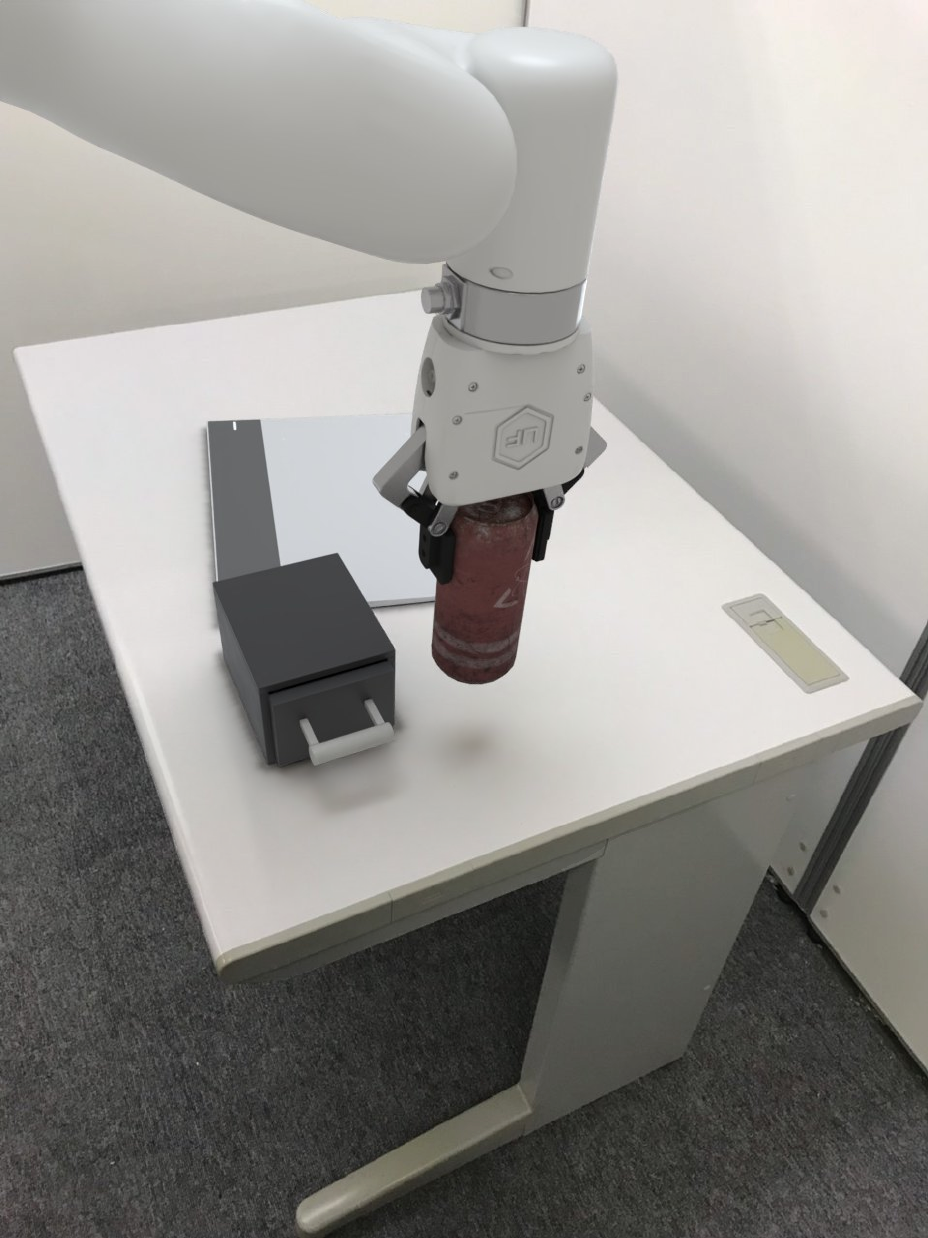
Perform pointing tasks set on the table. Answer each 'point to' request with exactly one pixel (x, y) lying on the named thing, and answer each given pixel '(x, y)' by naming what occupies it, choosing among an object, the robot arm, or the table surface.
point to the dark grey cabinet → (294, 632)
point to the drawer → (333, 714)
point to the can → (485, 589)
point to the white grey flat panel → (315, 501)
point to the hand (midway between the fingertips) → (483, 558)
